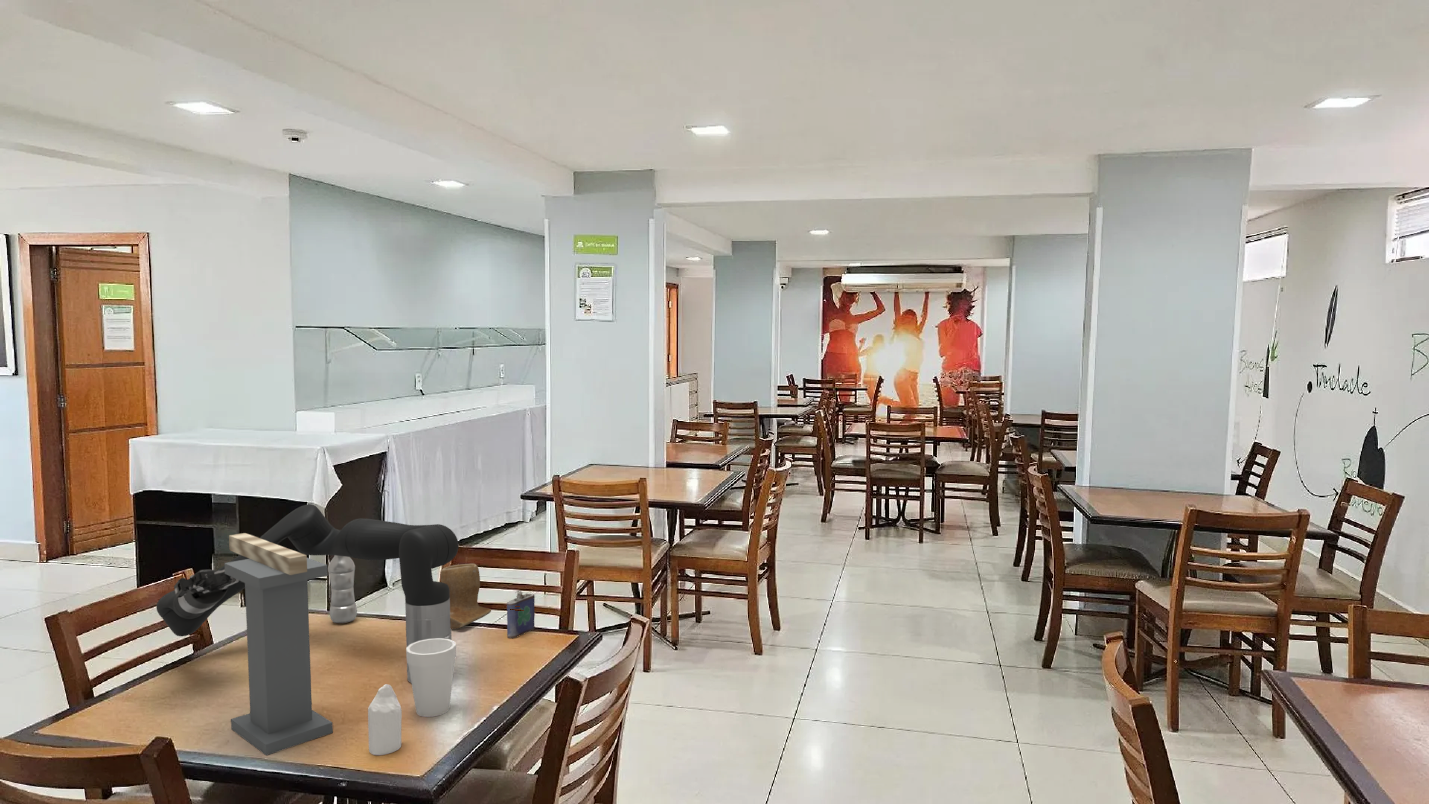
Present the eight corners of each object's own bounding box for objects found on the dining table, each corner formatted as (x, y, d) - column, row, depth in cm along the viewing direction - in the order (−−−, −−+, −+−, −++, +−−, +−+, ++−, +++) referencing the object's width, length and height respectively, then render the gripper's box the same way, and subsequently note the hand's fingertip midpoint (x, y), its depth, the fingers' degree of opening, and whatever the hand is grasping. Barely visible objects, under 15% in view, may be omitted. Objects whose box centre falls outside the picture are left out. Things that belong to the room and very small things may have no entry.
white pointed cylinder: (381, 675, 160) (407, 678, 159) (383, 739, 161) (409, 742, 160) (359, 688, 155) (387, 691, 153) (361, 753, 156) (388, 757, 154)
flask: (512, 639, 215) (511, 596, 214) (503, 637, 216) (502, 595, 216) (537, 628, 223) (536, 587, 222) (528, 627, 225) (527, 586, 224)
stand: (332, 732, 164) (327, 565, 162) (266, 755, 155) (259, 578, 153) (295, 709, 174) (290, 551, 172) (231, 729, 165) (224, 563, 163)
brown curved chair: (459, 611, 238) (458, 556, 237) (497, 615, 234) (496, 560, 233) (423, 628, 224) (422, 570, 223) (463, 633, 220) (461, 574, 219)
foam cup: (406, 704, 176) (404, 642, 175) (454, 697, 180) (452, 635, 179) (410, 723, 168) (408, 657, 167) (459, 715, 171) (458, 650, 170)
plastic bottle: (347, 626, 225) (345, 550, 223) (324, 625, 226) (321, 549, 225) (362, 619, 231) (360, 544, 230) (339, 617, 232) (337, 543, 231)
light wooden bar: (307, 571, 157) (306, 555, 157) (290, 575, 155) (289, 558, 154) (245, 547, 175) (245, 532, 175) (229, 550, 173) (229, 535, 173)
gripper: (161, 583, 184) (182, 560, 174) (233, 567, 195) (257, 544, 184) (169, 617, 182) (192, 596, 172) (241, 599, 193) (267, 578, 183)
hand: (226, 569), depth 178 cm, fingers open, 8 cm apart
